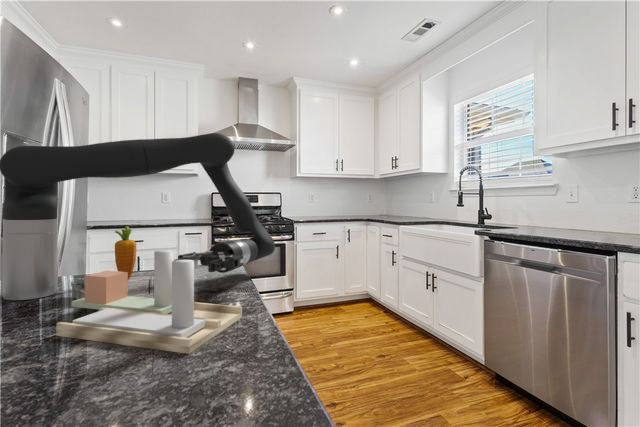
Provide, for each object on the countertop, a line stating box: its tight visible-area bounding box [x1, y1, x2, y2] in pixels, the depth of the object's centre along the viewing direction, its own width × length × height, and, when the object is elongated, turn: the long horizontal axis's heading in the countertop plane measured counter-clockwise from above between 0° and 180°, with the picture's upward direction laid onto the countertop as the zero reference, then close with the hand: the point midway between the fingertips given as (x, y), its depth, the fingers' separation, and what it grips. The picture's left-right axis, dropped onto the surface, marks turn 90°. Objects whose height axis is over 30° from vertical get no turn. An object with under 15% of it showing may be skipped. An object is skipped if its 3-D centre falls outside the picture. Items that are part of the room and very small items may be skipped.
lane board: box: [56, 296, 243, 355], centre depth 57 cm, size 24×16×2 cm, turn 76°
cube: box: [84, 270, 129, 304], centre depth 64 cm, size 5×5×5 cm
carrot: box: [114, 225, 137, 281], centre depth 87 cm, size 5×5×15 cm
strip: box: [72, 259, 205, 337], centre depth 53 cm, size 20×6×11 cm, turn 76°
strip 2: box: [71, 249, 174, 314], centre depth 63 cm, size 20×6×11 cm, turn 76°
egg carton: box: [70, 281, 85, 300], centre depth 73 cm, size 11×8×4 cm
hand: (191, 266), depth 69 cm, fingers open, 8 cm apart
